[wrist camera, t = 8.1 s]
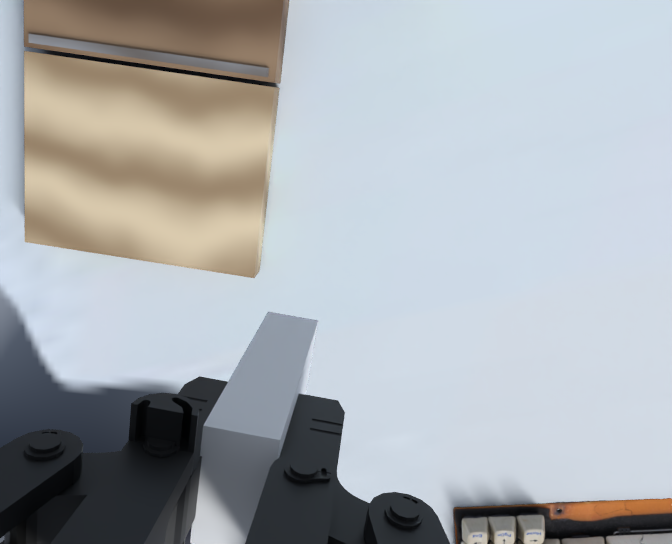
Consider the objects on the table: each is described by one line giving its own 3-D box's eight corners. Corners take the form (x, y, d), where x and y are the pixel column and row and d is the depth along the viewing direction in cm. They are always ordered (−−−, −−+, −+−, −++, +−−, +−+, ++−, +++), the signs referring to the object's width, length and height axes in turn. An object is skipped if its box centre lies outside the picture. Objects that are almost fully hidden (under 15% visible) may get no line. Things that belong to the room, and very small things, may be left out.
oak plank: (39, 53, 45) (24, 51, 43) (279, 87, 44) (274, 87, 42) (38, 236, 49) (24, 241, 47) (259, 270, 48) (254, 278, 46)
